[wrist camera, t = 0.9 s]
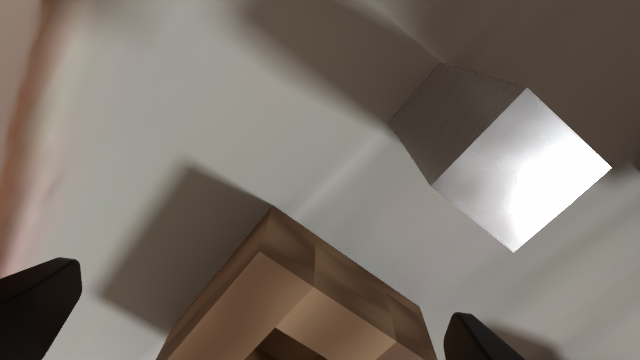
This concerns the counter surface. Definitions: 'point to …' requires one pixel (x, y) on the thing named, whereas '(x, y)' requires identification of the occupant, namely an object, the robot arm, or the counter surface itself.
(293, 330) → the socket block
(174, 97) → the counter surface
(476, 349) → the robot arm
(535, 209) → the steel block
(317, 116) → the counter surface
